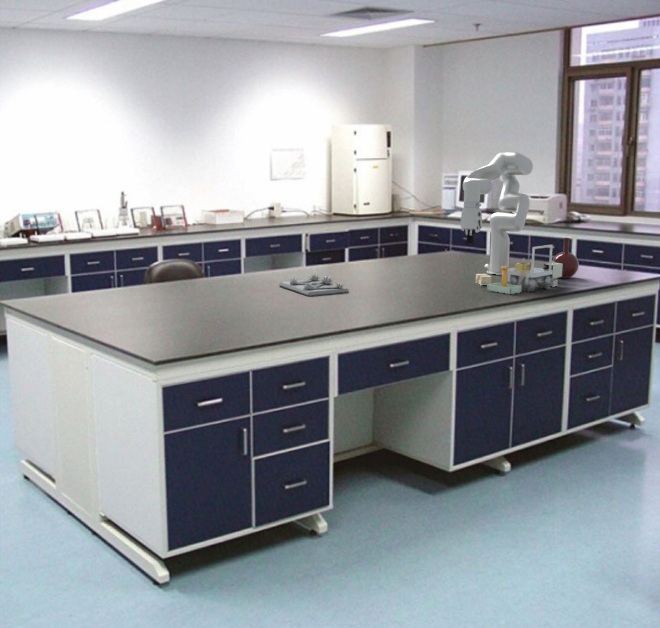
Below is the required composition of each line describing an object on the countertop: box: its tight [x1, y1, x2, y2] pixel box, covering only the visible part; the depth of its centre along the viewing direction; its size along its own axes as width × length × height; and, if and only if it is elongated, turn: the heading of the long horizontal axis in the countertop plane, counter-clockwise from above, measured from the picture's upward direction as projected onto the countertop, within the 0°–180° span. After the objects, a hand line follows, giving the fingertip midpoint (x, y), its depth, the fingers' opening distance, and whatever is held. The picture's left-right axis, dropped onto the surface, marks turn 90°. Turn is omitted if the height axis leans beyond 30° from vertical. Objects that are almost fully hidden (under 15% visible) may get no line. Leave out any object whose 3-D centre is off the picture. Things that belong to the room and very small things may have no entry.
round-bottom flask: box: [552, 237, 580, 279], centre depth 441 cm, size 13×13×20 cm
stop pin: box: [501, 266, 510, 287], centre depth 403 cm, size 3×3×11 cm
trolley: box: [507, 244, 554, 293], centre depth 411 cm, size 17×16×21 cm
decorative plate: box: [278, 272, 350, 297], centre depth 405 cm, size 30×22×7 cm
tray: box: [486, 281, 523, 295], centre depth 404 cm, size 13×8×3 cm, turn 42°
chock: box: [475, 273, 492, 286], centre depth 423 cm, size 8×5×4 cm, turn 10°
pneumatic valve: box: [542, 261, 564, 288], centre depth 418 cm, size 6×12×12 cm, turn 131°
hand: (469, 243), depth 426 cm, fingers closed
